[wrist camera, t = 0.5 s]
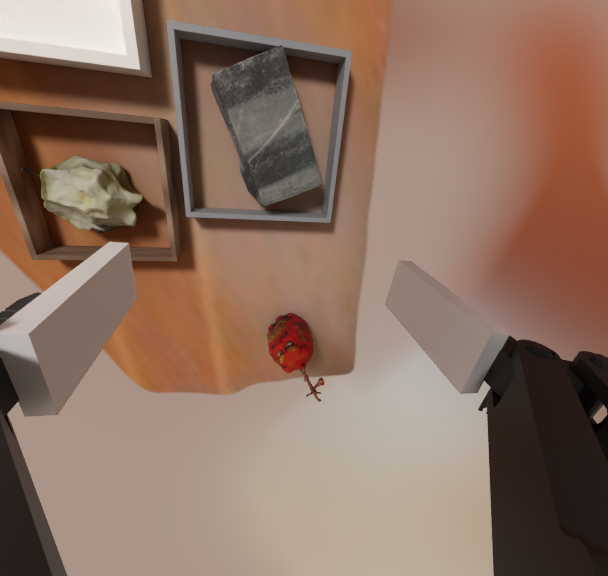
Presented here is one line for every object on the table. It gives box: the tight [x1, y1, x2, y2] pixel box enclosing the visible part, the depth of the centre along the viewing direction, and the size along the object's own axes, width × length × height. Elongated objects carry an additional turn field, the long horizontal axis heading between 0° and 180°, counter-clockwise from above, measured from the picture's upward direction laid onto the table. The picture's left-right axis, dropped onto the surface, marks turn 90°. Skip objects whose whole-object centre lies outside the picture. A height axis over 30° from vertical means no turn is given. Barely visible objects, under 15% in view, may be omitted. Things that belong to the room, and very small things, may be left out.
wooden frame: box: [0, 101, 182, 261], centre depth 33 cm, size 16×16×4 cm
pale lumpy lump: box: [21, 155, 143, 233], centre depth 33 cm, size 9×9×8 cm
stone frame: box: [166, 20, 352, 223], centre depth 34 cm, size 19×19×3 cm
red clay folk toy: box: [267, 313, 324, 402], centre depth 43 cm, size 8×7×15 cm
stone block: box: [211, 45, 322, 206], centre depth 34 cm, size 9×14×5 cm, turn 18°
